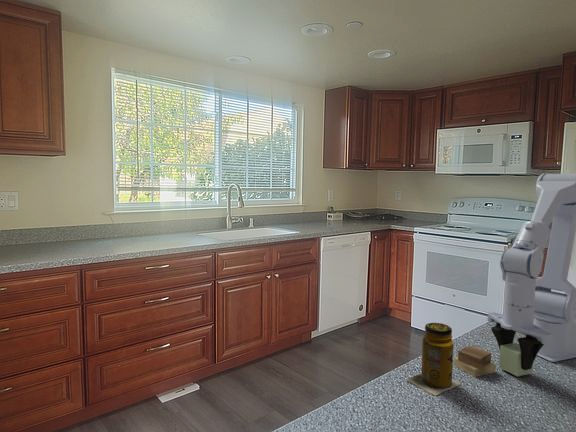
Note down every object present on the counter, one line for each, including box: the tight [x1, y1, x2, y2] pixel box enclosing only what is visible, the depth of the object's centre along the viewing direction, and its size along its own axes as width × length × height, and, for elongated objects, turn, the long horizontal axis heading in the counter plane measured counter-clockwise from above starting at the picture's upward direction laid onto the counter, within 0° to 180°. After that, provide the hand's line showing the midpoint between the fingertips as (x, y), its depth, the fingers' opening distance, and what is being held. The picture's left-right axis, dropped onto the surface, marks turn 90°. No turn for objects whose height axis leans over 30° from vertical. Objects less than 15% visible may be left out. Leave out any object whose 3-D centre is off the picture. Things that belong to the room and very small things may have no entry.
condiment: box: [405, 322, 462, 397], centre depth 81 cm, size 7×8×12 cm
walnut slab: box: [457, 345, 492, 369], centre depth 88 cm, size 5×5×2 cm
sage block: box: [498, 342, 534, 377], centre depth 86 cm, size 4×4×5 cm
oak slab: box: [453, 356, 497, 378], centre depth 88 cm, size 6×6×2 cm
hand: (516, 363), depth 86 cm, fingers closed on sage block, 4 cm apart
